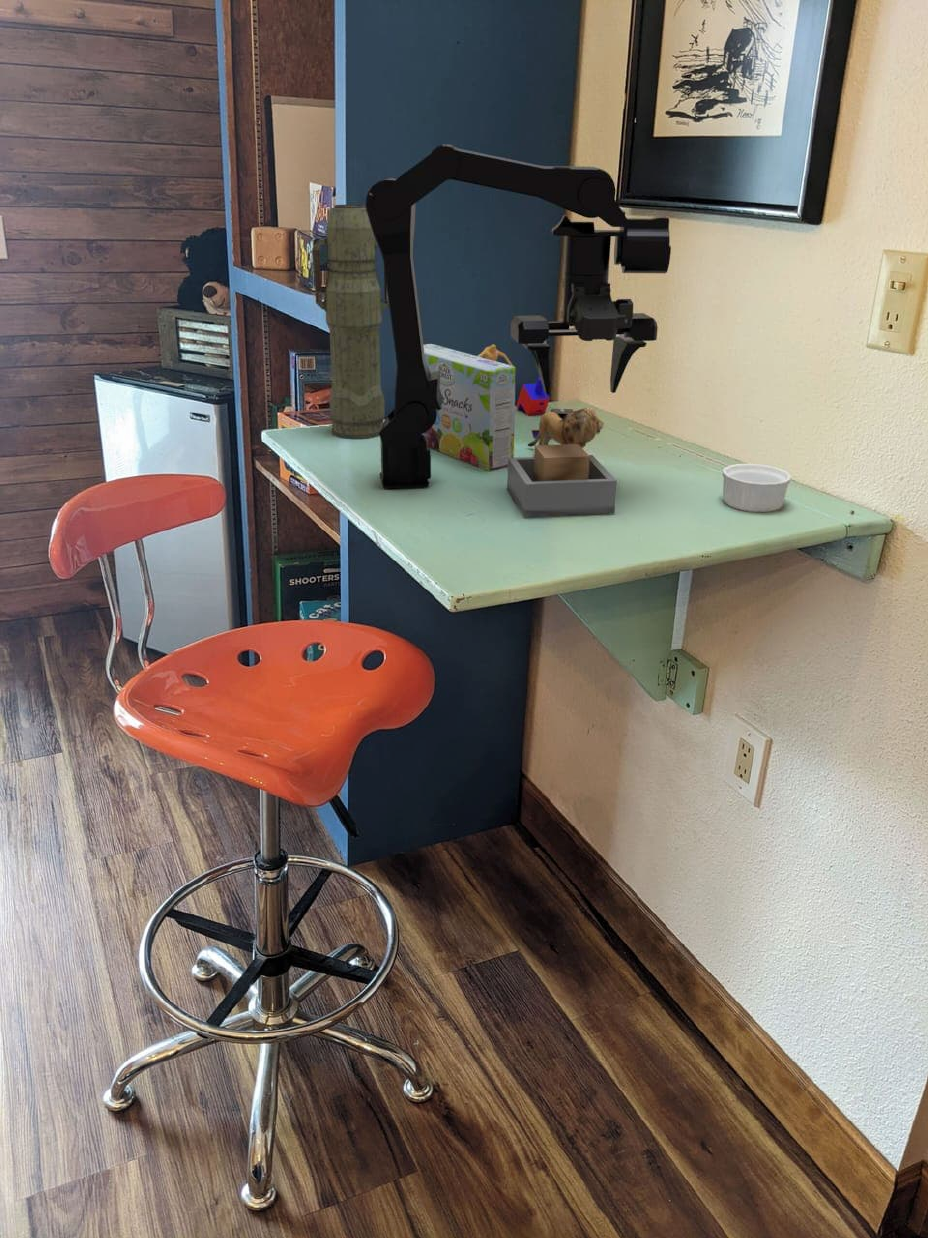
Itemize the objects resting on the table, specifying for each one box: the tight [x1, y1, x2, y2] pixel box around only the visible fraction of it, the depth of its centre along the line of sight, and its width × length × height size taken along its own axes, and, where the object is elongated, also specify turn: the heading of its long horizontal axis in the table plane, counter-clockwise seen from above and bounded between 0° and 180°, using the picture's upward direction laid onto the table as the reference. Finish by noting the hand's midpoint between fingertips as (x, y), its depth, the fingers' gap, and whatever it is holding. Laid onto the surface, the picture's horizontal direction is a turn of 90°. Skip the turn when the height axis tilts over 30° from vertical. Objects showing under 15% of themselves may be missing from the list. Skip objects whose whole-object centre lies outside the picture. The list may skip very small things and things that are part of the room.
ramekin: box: [722, 463, 792, 513], centre depth 136 cm, size 9×9×4 cm
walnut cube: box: [533, 444, 590, 482], centre depth 135 cm, size 6×6×6 cm
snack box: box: [422, 343, 517, 472], centre depth 154 cm, size 21×6×15 cm, turn 37°
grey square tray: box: [506, 454, 618, 519], centre depth 135 cm, size 12×12×4 cm
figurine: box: [477, 343, 514, 366], centre depth 177 cm, size 8×6×12 cm
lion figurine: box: [527, 407, 605, 449], centre depth 152 cm, size 15×5×9 cm, turn 39°
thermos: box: [311, 204, 390, 440], centre depth 160 cm, size 9×12×35 cm
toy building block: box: [515, 376, 551, 416], centre depth 179 cm, size 4×4×8 cm
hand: (580, 393), depth 137 cm, fingers open, 9 cm apart
